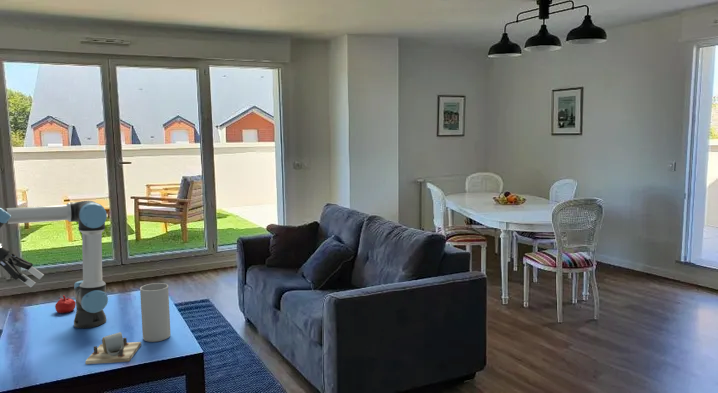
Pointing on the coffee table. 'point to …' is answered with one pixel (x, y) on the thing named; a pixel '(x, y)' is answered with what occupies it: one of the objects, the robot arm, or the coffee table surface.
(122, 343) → the ceramic mug
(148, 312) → the cylinder vase
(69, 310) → the red pumpkin
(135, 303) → the coffee table surface
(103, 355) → the post board
